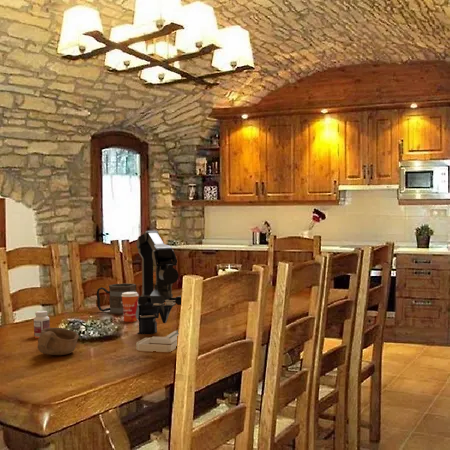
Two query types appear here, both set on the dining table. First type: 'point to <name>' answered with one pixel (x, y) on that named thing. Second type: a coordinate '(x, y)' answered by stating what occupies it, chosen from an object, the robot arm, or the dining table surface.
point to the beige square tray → (146, 346)
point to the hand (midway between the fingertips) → (164, 323)
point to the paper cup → (129, 306)
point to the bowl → (57, 341)
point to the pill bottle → (40, 322)
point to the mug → (116, 297)
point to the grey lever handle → (172, 336)
